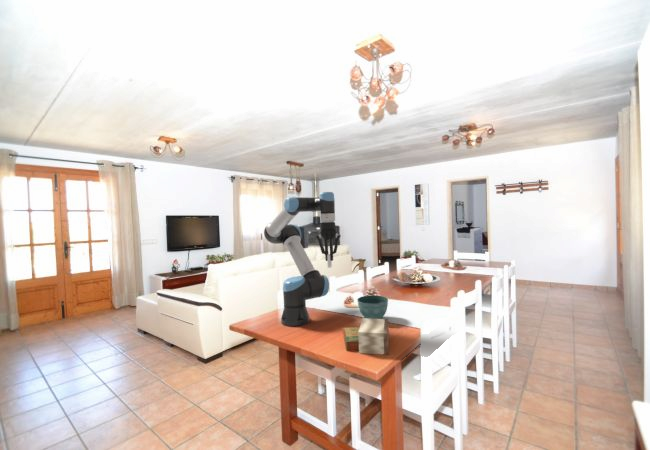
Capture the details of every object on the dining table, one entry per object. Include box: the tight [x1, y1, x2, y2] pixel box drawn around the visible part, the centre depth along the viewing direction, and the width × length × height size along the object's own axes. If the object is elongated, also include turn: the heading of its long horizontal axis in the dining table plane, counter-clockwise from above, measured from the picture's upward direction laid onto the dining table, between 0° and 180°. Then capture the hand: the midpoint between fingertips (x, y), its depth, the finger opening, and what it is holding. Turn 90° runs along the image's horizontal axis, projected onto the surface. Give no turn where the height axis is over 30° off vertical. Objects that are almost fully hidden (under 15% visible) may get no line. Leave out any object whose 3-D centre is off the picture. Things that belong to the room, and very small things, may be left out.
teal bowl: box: [357, 294, 389, 319], centre depth 161 cm, size 16×16×11 cm
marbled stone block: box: [358, 317, 390, 356], centre depth 128 cm, size 12×17×8 cm
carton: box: [342, 326, 360, 352], centre depth 132 cm, size 8×16×4 cm, turn 2°
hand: (329, 267), depth 157 cm, fingers closed
